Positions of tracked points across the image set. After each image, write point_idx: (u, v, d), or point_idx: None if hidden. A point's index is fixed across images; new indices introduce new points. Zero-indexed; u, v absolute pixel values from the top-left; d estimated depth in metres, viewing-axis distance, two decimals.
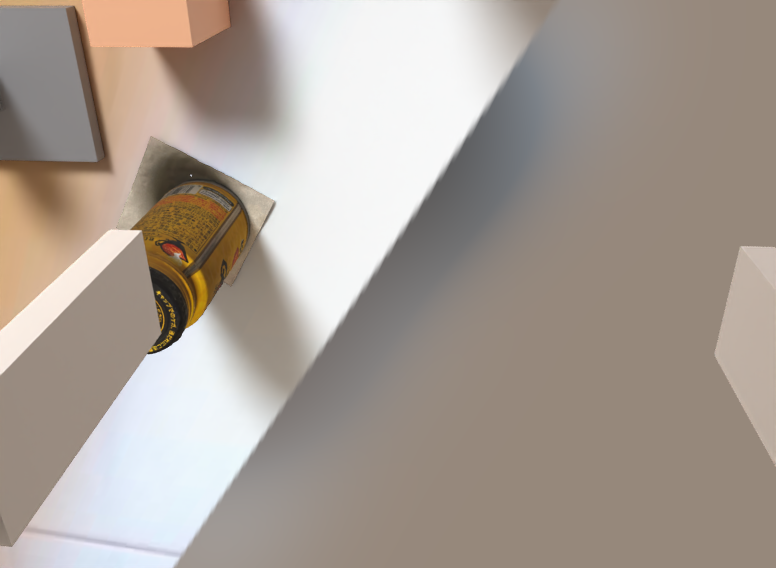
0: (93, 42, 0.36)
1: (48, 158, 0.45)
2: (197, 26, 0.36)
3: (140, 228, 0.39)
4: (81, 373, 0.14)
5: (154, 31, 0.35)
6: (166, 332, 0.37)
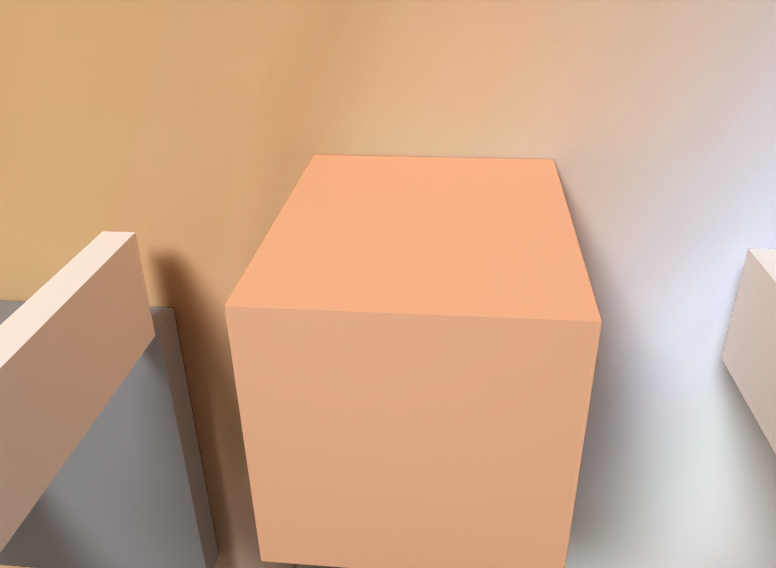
0: (270, 554, 0.13)
1: None
2: None
3: None
4: (72, 376, 0.14)
5: (456, 545, 0.12)
6: None
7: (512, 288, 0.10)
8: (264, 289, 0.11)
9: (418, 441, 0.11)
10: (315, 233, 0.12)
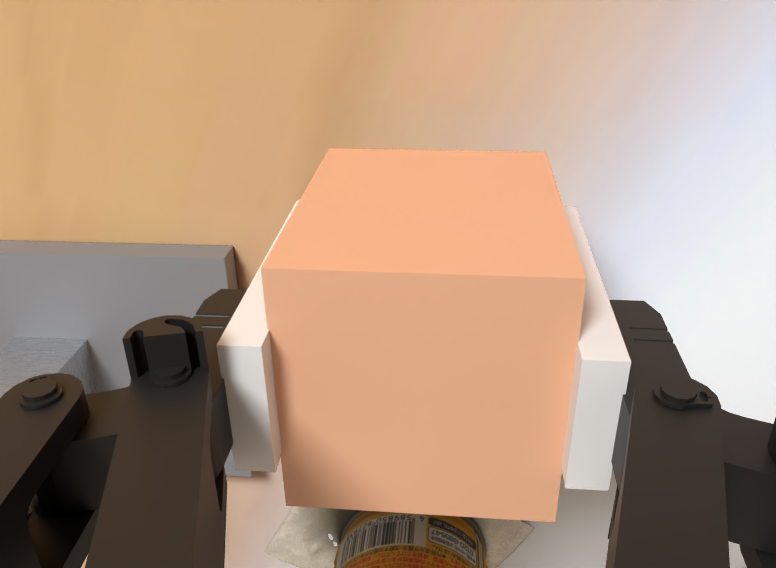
0: (294, 499, 0.14)
1: None
2: None
3: None
4: None
5: (461, 487, 0.13)
6: None
7: (509, 254, 0.12)
8: (294, 255, 0.12)
9: (428, 389, 0.12)
10: (335, 211, 0.14)
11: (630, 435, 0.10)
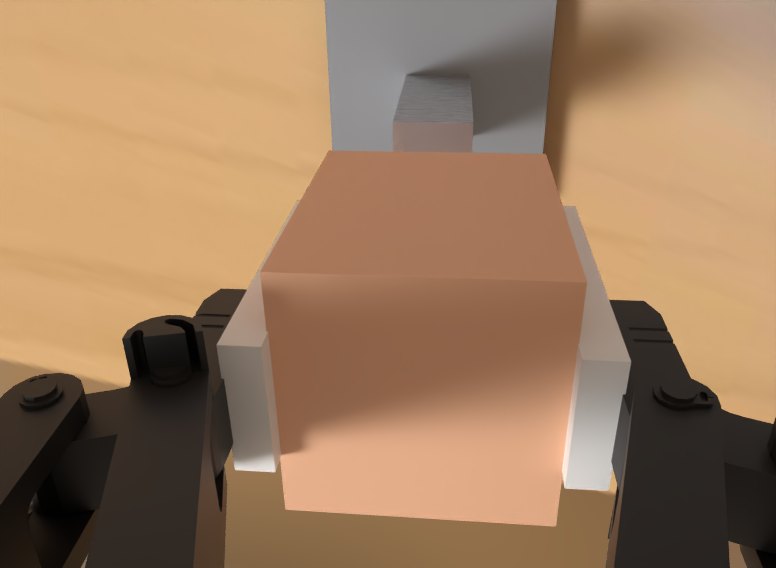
0: (294, 502, 0.14)
1: (550, 22, 0.28)
2: None
3: None
4: None
5: (461, 491, 0.13)
6: None
7: (509, 257, 0.12)
8: (293, 258, 0.12)
9: (428, 393, 0.12)
10: (334, 214, 0.14)
11: (630, 435, 0.10)
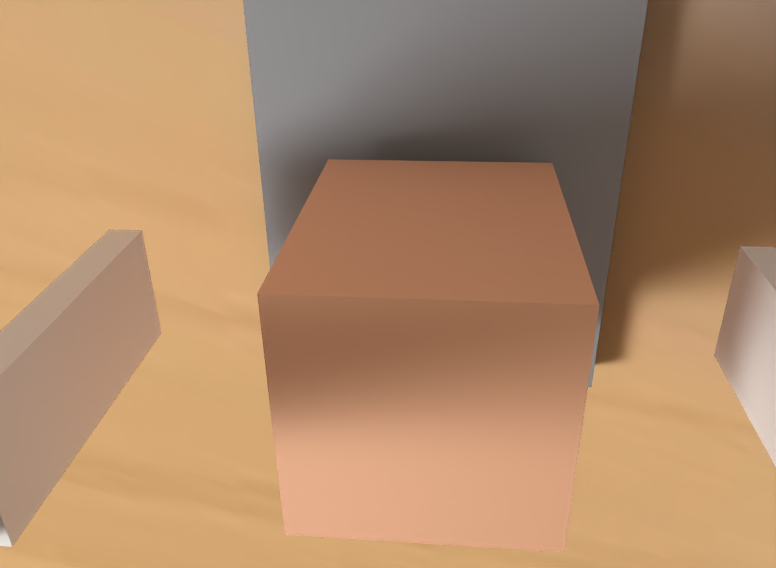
0: (293, 527, 0.13)
1: (624, 113, 0.17)
2: None
3: None
4: (81, 373, 0.14)
5: (466, 517, 0.13)
6: None
7: (517, 277, 0.12)
8: (292, 279, 0.12)
9: (432, 418, 0.12)
10: (335, 229, 0.13)
11: None
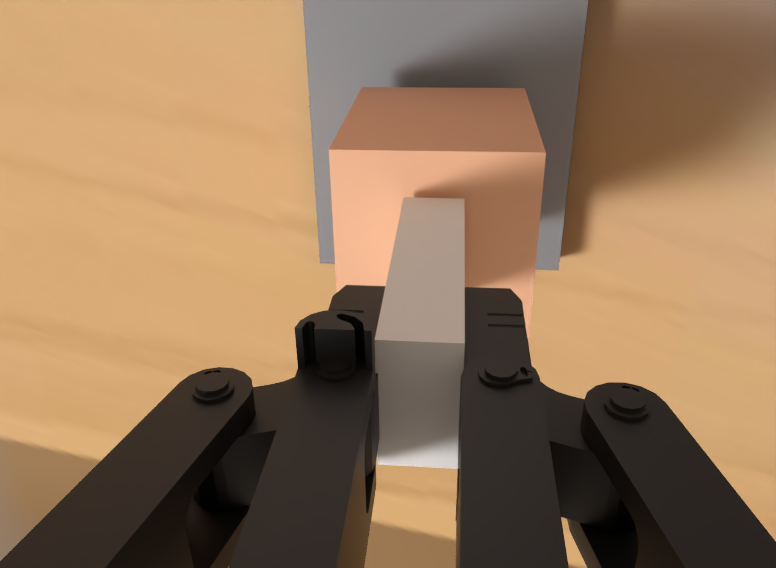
0: None
1: (577, 52, 0.23)
2: None
3: None
4: None
5: None
6: None
7: (495, 141, 0.18)
8: (349, 143, 0.18)
9: None
10: (373, 121, 0.20)
11: (462, 420, 0.10)
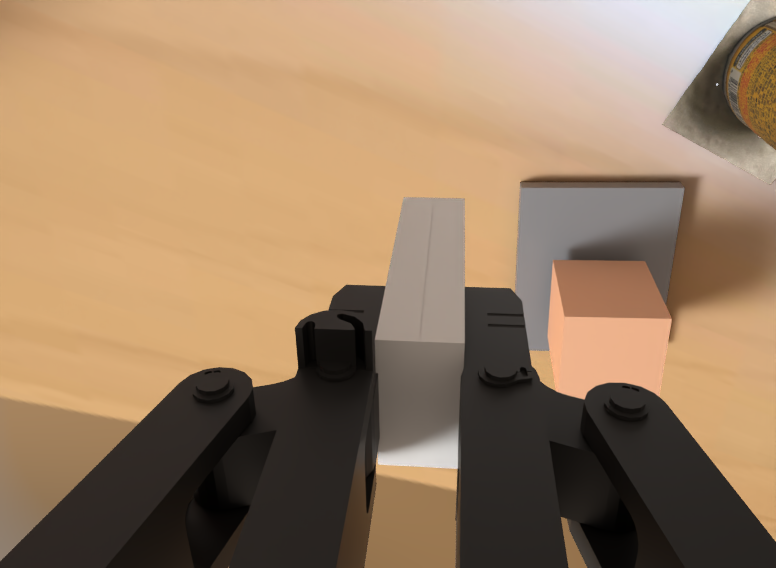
0: None
1: (673, 239, 0.42)
2: None
3: (773, 127, 0.32)
4: None
5: None
6: None
7: (644, 310, 0.36)
8: (572, 311, 0.37)
9: (616, 356, 0.37)
10: (575, 293, 0.38)
11: (462, 420, 0.10)
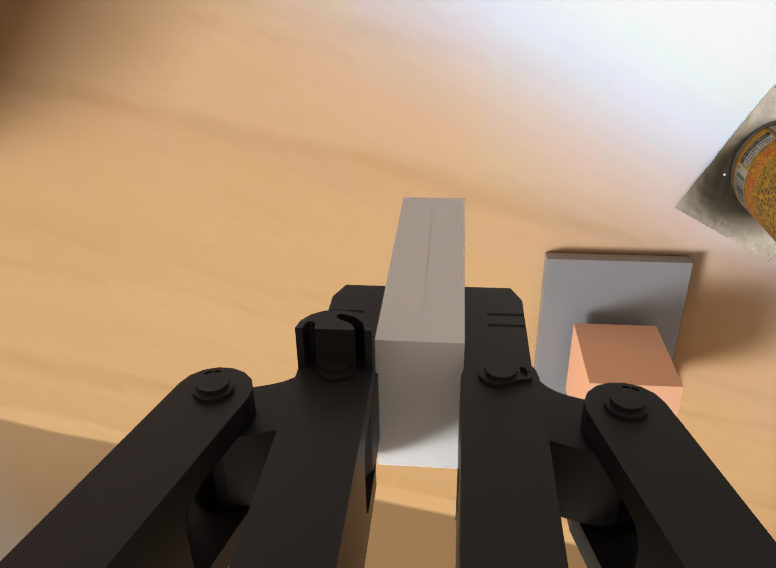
0: None
1: (681, 306, 0.46)
2: None
3: None
4: None
5: None
6: None
7: (659, 377, 0.41)
8: (595, 378, 0.41)
9: None
10: (596, 359, 0.43)
11: (462, 420, 0.10)
